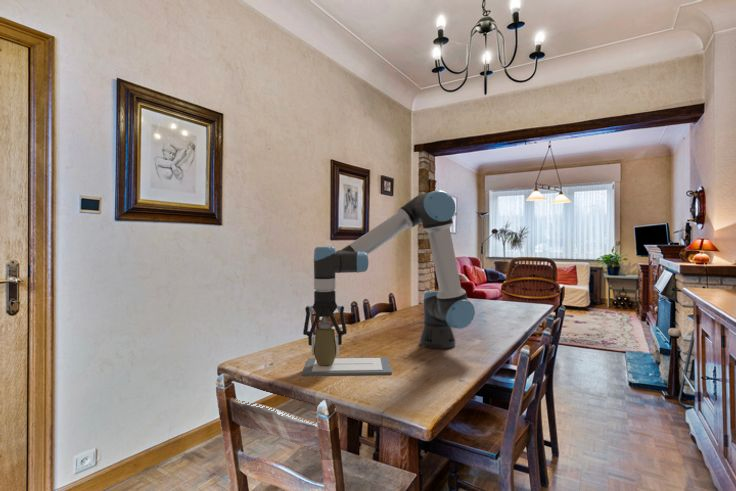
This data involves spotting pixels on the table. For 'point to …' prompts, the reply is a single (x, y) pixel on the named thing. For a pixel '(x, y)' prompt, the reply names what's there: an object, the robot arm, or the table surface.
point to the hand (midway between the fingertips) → (325, 354)
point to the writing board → (349, 367)
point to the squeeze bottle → (325, 343)
